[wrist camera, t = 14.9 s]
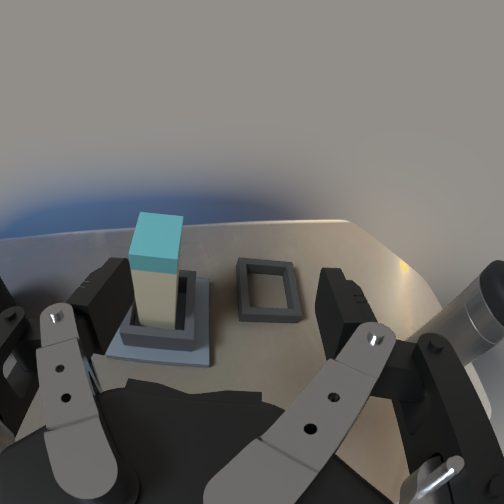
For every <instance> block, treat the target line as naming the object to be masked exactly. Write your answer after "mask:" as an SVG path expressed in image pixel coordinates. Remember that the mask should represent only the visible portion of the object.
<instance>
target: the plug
mask: <svg viewBox="0 0 504 504" xmlns="http://www.w3.org/2000/svg"><path fill="white" fill-rule="evenodd" d="M182 226H183V216H173V215H163V214H154V213H145V212H140V215H139V218H138V222H137V225H136V229H135V232H134V236H133V239H132V243H131V247H130V251H129V261H130V268H131V275H132V281H133V286H134V294H135V300H136V306H137V311H138V317H139V322H140V326H142V327H151V328H162V329H173V330H175V323H176V310H177V297H178V279H179V263H180V249H181V237H182Z"/></svg>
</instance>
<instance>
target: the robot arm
mask: <svg viewBox="0 0 504 504" xmlns="http://www.w3.org/2000/svg"><path fill="white" fill-rule="evenodd" d="M133 301H134V286H133V281H132V275H131V269H130V264H129V261H128V259H127V258H112V257H111V258H109V259H108V261H107V262H106V263H105V264H104V265H103V266H102V267H101V268H99V269H97V270H95V271H94V272H92V273H91V274H90V275H89V276H88V277H87V278H86V279H85V282H83V283H82V284H81V285H80V287H78V288H77V290H76V291H75V292H74V293H73V294H72V296H71V297H70V298H69V299H68V300H67V302H66V303H56V304H53V305H51V306H49V307H47V308H46V309H45V310H44V311H43V312H42V313H41V315H40V317H31V318H27V316H26V313H25V311H24V309H23V308H22V307H19V306H14V307H10V308H8V309H6V310H4V311H3V312H2V313H1V314H0V504H393V502H392V501H391V500H390V499H388V498H387V497H386V496H385V495H383V494H382V493H381V492H380V491H378V490H377V489H376V488H375V487H373V486H372V485H371V484H370V483H368V482H367V481H366V480H365V479H364V478H362V477H361V476H360V475H359V474H358V473H356V472H355V471H354V470H353V469H352V468H351V467H349V466H348V465H347V464H346V463H345V462H344V461H343V460H341V459H340V458H339V457H338V456H337V455H336V454H335V453H336V452H337V450H338V449H339V447H340V446H341V444H342V443H343V441H344V439H345V438H346V436H347V435H348V433H349V431H350V430H351V428H352V426H353V425H354V423H355V422H356V420H357V418H358V416H359V415H360V413H361V411H362V410H363V408H364V406H365V404H366V403H367V401H368V399H369V397H370V396H375V397H381V398H387V399H391V400H392V403H393V407H394V411H395V414H396V418H397V422H398V426H399V430H400V434H401V438H402V442H403V446H404V450H405V455H406V459H407V464H408V468H409V473H410V476H408V477H407V478H406V479H405V481H404V482H403V484H402V486H401V490H400V502H399V504H504V457H503V454H502V451H501V449H500V446H499V443H498V441H497V438H496V436H495V433H494V431H493V428H492V426H491V424H490V421H489V419H488V416H487V414H486V412H485V410H484V407H483V405H482V403H481V401H480V399H479V397H478V395H477V393H476V390H475V388H474V386H473V384H472V382H471V380H470V378H469V376H468V374H467V373H466V371H465V369H464V366H466V365H467V364H469V363H470V362H472V361H473V360H475V359H476V358H478V357H479V356H481V355H482V354H484V353H485V352H487V351H488V350H490V349H491V348H493V347H494V346H495V345H497V344H498V343H499V342H501V341H502V340H503V339H504V261H500V260H496V261H493V262H492V263H490V264H489V265H488V266H487V267H486V268H485V269H484V270H483V272H482V273H481V274H480V275H479V276H478V277H477V278H476V279H475V280H474V281H473V282H472V283H471V284H470V285H469V286H468V287H467V288H466V289H465V290H464V291H463V292H461V294H460V295H458V296H457V297H456V298H455V299H454V300H453V301H452V302H451V303H450V304H449V305H447V307H445V308H444V309H443V310H442V311H441V312H440V313H438V314H437V315H436V316H435V317H434V318H433V319H431V320H430V321H429V322H428V323H427V324H425V325H424V326H423V327H422V328H420V329H419V330H418V331H417V332H416V333H414V334H413V335H412V336H411V337H409V338H408V339H407V340H406V341H401V340H397V339H396V336H395V334H394V332H393V331H392V330H391V329H390V328H389V327H387V326H385V325H383V324H381V323H378V322H377V320H376V318H375V315H374V313H373V311H372V309H371V307H370V305H369V303H367V302H368V301H367V299H366V297H364V294H363V292H362V290H361V288H360V287H359V286H358V285H357V284H356V283H355V282H353V281H352V280H346V279H345V276H344V274H343V272H342V270H341V269H340V268H322V269H321V272H320V278H319V284H318V289H317V295H316V301H315V314H316V318H317V322H318V326H319V330H320V334H321V339H322V343H323V347H324V351H325V356H326V360H327V362H326V363H325V364H324V366H323V367H322V368H321V369H320V371H319V372H318V373H317V374H316V376H315V377H314V378H313V379H312V380H311V382H310V383H309V384H308V385H307V386H306V388H305V389H304V390H303V391H302V392H301V394H300V395H299V396H298V397H297V398H296V399H295V401H294V402H293V403H292V404H291V405H290V406H289V407H288V408H287V410H286V411H285V410H284V409H282V408H279V407H277V406H275V405H272V404H269V403H265V402H262V392H247V391H228V390H227V391H219V392H211V393H202V394H187V393H184V392H181V391H178V390H176V389H173V388H170V387H167V386H164V385H162V384H159V383H153V382H147V381H141V380H135V379H129V378H128V381H127V383H126V386H125V388H116V389H111V390H107V391H104V392H103V390H102V387H101V384H100V382H99V379H98V376H97V373H96V370H95V367H94V363H93V361H92V359H91V356H92V355H93V353H95V354H100V355H105V353H106V351H107V349H108V347H109V345H110V344H111V342H112V340H113V338H114V336H115V334H116V332H117V331H118V329H119V327H120V325H121V323H122V322H123V320H124V318H125V316H126V315H127V313H128V311H129V309H130V307H131V306H132V304H133ZM11 352H12V353H13V355H14V357H15V359H16V361H17V363H16V364H15V366H14V368H13V369H12V371H11V373H10V374H9V376H8V378H7V379H6V378H5V377H4V375H3V365H4V362H5V361H6V359H7V358H8V356H9V355H10V353H11ZM39 386H40V394H41V400H42V406H43V412H44V418H45V423H46V425H45V426H43V427H41V428H40V429H38V430H36V431H35V432H33V433H31V434H29V435H28V436H26V437H24V438H22V439H20V440H19V441H17V442H15V437H16V435H17V433H18V430H19V428H20V426H21V424H22V421H23V419H24V417H25V415H26V413H27V411H28V409H29V406H30V404H31V402H32V400H33V398H34V396H35V394H36V392H37V390H38V388H39Z"/></svg>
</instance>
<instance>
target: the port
mask: <svg viewBox="0 0 504 504" xmlns="http://www.w3.org/2000/svg"><path fill="white" fill-rule="evenodd" d="M106 356H107V358H112V359H119V360H127V361H135V362H144V363H153V364H164V365H176V366H190V367H209V279H197V278H196V271H186V270H179V279H178V297H177V310H176V323H175V330H173V329H162V328H151V327H142V326H140V322H139V317H138V311H137V306H136V300H135V294H134V301H133V304H132V306H131V307H130V309H129V311H128V313H127V315H126V316H125V318H124V320H123V322H122V323H121V325H120V327H119V329H118V331H117V332H116V334H115V336H114V338H113V340H112V342H111V344H110V345H109V347H108V349H107V351H106Z"/></svg>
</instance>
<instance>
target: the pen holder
mask: <svg viewBox="0 0 504 504" xmlns="http://www.w3.org/2000/svg"><path fill="white" fill-rule="evenodd" d="M14 306H17V305H16V303H15V301H14V300H13V298H12V296H11V295H10V293H9V291H8V290H7V288H6V286H5V284H4V283H3V281H2V279H1V277H0V314H1V313H2V312H3V311H4V310H6V309H8V308H10V307H14Z"/></svg>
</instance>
